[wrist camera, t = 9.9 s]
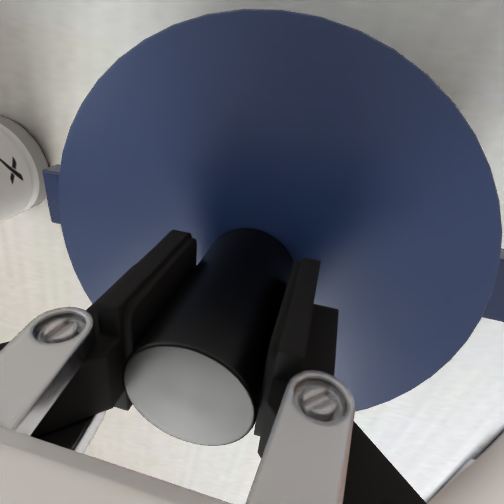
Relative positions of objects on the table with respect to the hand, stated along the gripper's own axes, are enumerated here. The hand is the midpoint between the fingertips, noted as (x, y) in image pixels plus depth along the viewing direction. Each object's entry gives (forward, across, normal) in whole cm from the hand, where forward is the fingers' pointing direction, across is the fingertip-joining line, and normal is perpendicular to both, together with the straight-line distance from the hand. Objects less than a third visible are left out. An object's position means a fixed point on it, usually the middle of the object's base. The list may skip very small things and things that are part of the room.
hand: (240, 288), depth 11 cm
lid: (+2, 0, 0) cm, 2 cm away
